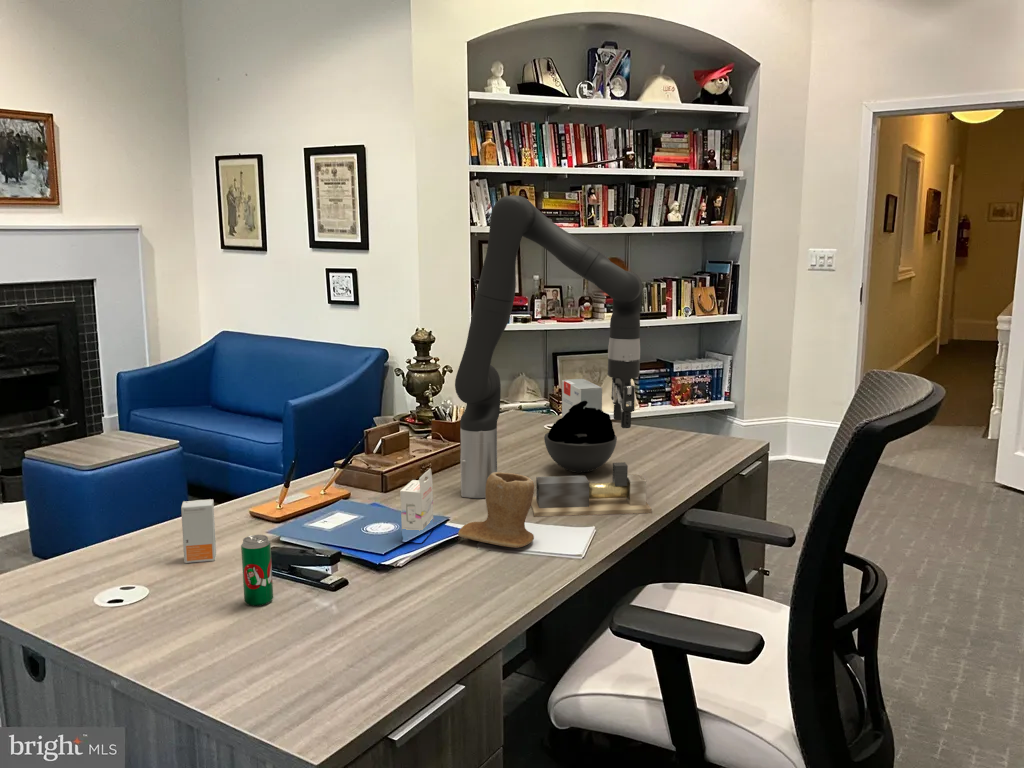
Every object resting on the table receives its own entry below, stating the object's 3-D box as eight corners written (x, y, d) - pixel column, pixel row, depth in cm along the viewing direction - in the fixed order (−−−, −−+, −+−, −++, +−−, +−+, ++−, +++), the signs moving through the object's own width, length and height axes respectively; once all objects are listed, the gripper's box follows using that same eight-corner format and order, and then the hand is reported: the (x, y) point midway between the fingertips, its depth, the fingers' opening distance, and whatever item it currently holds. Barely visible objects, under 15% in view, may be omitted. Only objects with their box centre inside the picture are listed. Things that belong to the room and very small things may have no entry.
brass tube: (571, 501, 206) (572, 467, 205) (569, 496, 210) (569, 463, 208) (641, 499, 208) (642, 465, 206) (637, 494, 211) (638, 461, 210)
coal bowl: (591, 486, 226) (592, 416, 222) (529, 473, 238) (530, 406, 234) (629, 469, 241) (630, 403, 238) (569, 458, 253) (570, 395, 250)
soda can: (262, 593, 159) (259, 531, 157) (279, 600, 156) (275, 537, 154) (238, 602, 155) (235, 539, 153) (255, 610, 152) (251, 545, 150)
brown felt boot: (544, 538, 188) (544, 471, 185) (518, 556, 178) (518, 486, 175) (484, 526, 195) (484, 462, 192) (456, 543, 185) (455, 476, 182)
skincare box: (184, 564, 173) (180, 507, 171) (186, 556, 177) (182, 500, 175) (215, 561, 175) (212, 504, 173) (217, 553, 179) (213, 498, 177)
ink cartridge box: (412, 529, 193) (411, 466, 191) (434, 531, 192) (433, 467, 190) (400, 542, 185) (398, 476, 182) (422, 544, 184) (421, 478, 181)
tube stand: (534, 516, 202) (534, 487, 200) (528, 500, 213) (528, 473, 212) (651, 513, 204) (652, 484, 203) (639, 497, 216) (640, 470, 215)
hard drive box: (560, 441, 274) (561, 379, 270) (583, 439, 276) (583, 378, 272) (578, 453, 259) (579, 388, 255) (602, 451, 261) (603, 386, 258)
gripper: (602, 352, 210) (600, 417, 213) (614, 361, 196) (612, 431, 199) (632, 352, 210) (630, 417, 213) (646, 361, 196) (644, 430, 199)
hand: (621, 423), depth 206 cm, fingers open, 8 cm apart
